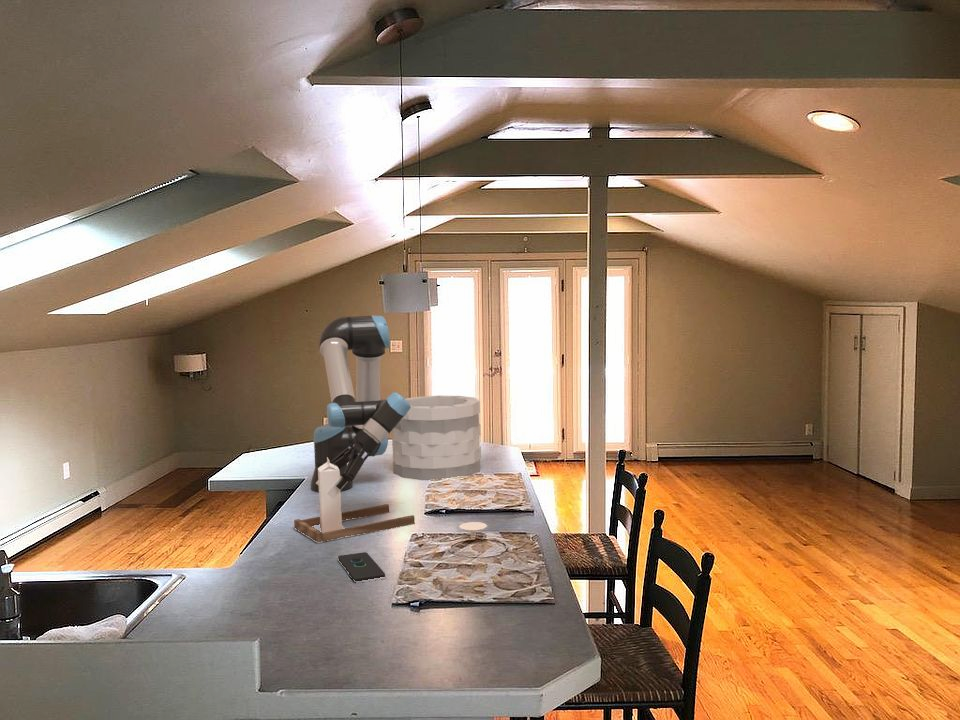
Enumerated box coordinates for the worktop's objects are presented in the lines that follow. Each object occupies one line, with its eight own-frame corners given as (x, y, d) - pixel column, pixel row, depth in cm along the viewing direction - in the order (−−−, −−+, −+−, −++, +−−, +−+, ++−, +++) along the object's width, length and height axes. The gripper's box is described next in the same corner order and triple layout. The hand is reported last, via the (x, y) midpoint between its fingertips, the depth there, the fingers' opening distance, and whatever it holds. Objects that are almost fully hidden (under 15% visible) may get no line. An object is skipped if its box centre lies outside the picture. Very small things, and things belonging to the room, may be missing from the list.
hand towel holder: (452, 546, 228) (442, 524, 248) (452, 561, 229) (442, 539, 249) (514, 540, 231) (499, 519, 251) (514, 556, 232) (499, 534, 252)
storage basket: (482, 459, 355) (480, 394, 352) (480, 479, 320) (478, 407, 317) (398, 461, 356) (396, 396, 353) (387, 481, 321) (384, 409, 318)
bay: (294, 529, 261) (294, 519, 261) (387, 511, 279) (387, 502, 278) (317, 543, 246) (317, 533, 246) (414, 523, 264) (414, 514, 264)
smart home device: (366, 551, 234) (386, 573, 216) (367, 557, 235) (386, 580, 216) (336, 555, 231) (354, 578, 213) (337, 561, 231) (354, 585, 213)
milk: (340, 527, 262) (337, 456, 260) (342, 532, 256) (339, 460, 254) (319, 528, 260) (317, 457, 258) (321, 534, 254) (319, 461, 252)
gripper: (391, 451, 251) (343, 508, 246) (368, 437, 273) (323, 489, 269) (373, 435, 248) (324, 492, 243) (351, 422, 271) (306, 474, 266)
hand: (324, 491), depth 256 cm, fingers open, 13 cm apart
